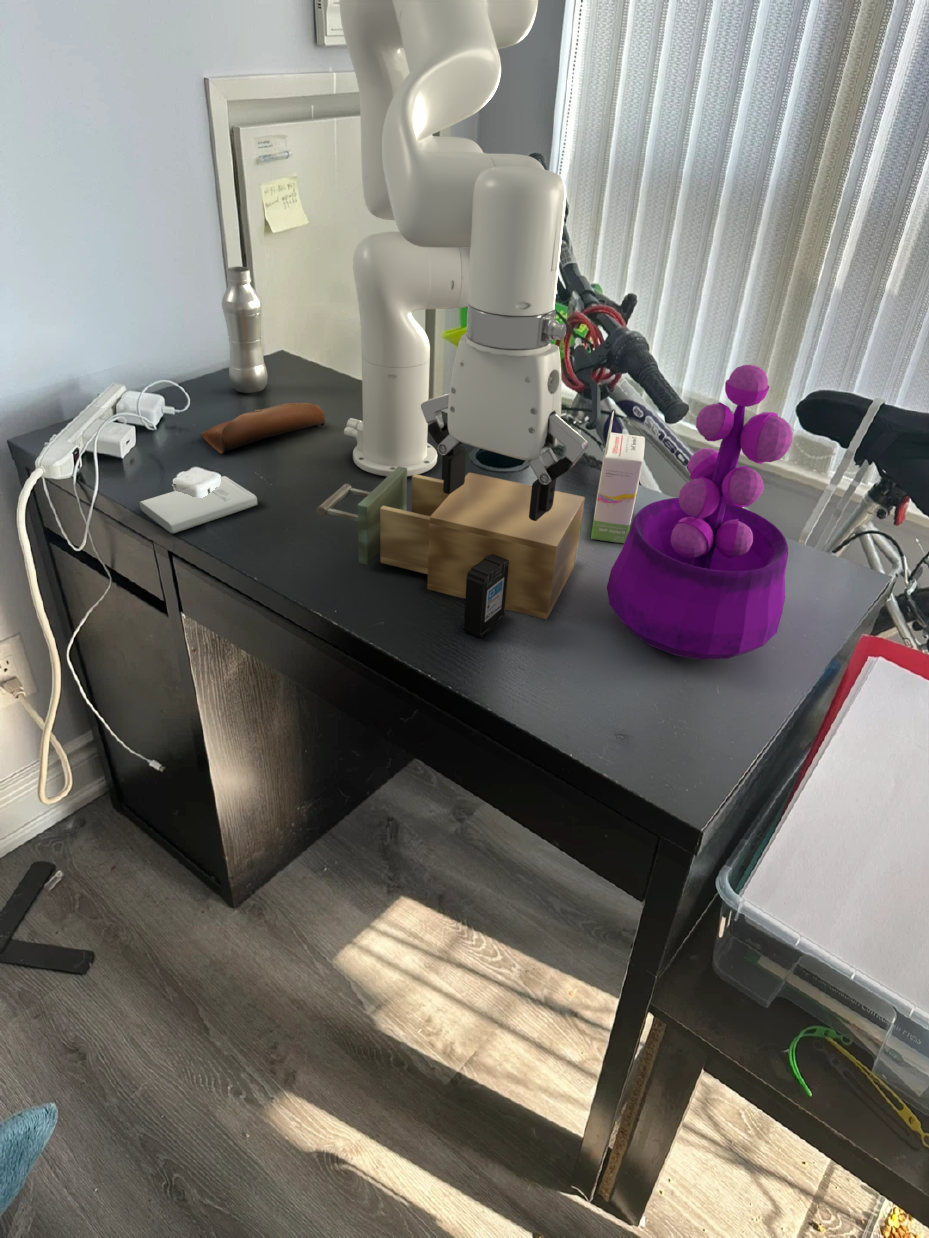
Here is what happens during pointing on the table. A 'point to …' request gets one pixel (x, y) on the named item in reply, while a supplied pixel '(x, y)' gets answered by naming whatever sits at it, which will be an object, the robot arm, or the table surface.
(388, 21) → the robot arm
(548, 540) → the cabinet
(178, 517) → the hard drive
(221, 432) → the sunglasses case
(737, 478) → the decorative plant
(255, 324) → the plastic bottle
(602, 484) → the ink box
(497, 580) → the ink cartridge
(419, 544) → the drawer
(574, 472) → the table surface
